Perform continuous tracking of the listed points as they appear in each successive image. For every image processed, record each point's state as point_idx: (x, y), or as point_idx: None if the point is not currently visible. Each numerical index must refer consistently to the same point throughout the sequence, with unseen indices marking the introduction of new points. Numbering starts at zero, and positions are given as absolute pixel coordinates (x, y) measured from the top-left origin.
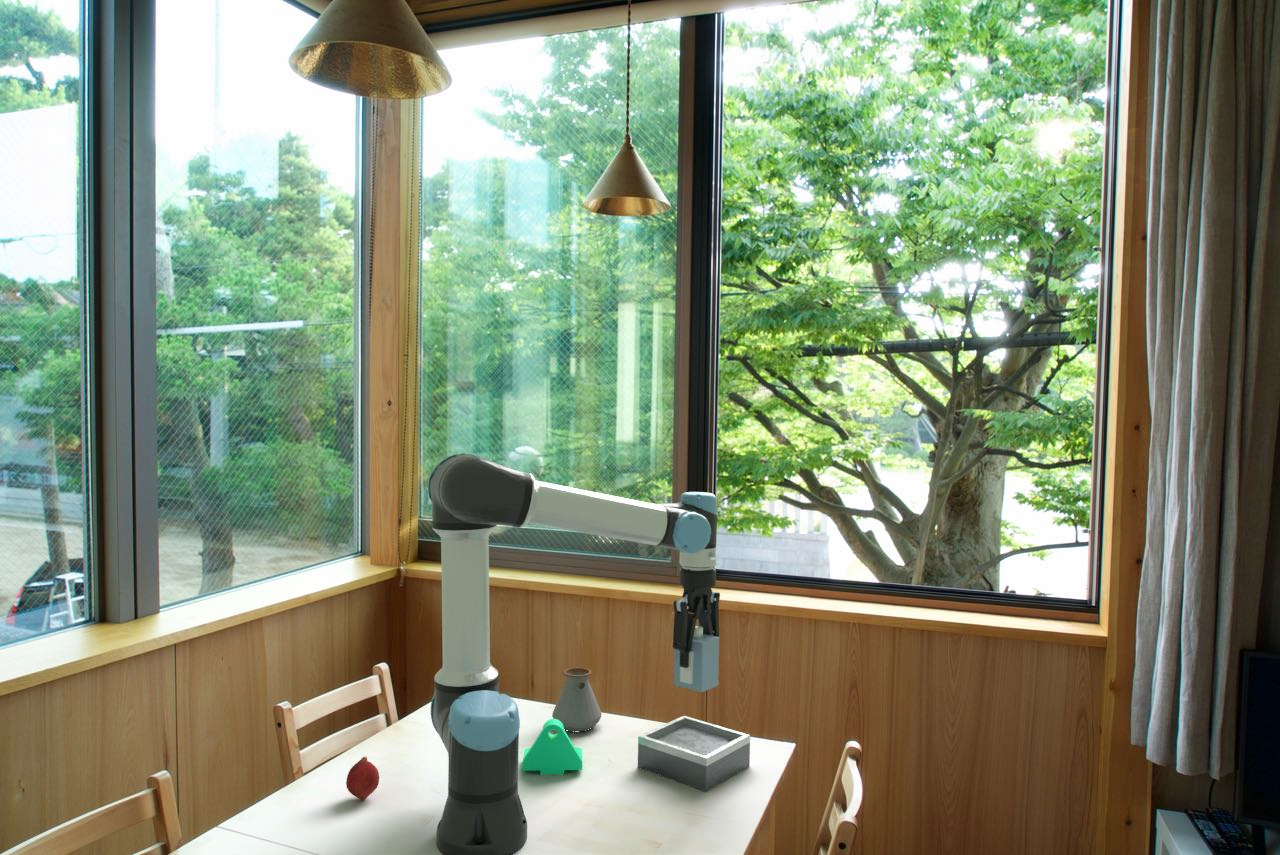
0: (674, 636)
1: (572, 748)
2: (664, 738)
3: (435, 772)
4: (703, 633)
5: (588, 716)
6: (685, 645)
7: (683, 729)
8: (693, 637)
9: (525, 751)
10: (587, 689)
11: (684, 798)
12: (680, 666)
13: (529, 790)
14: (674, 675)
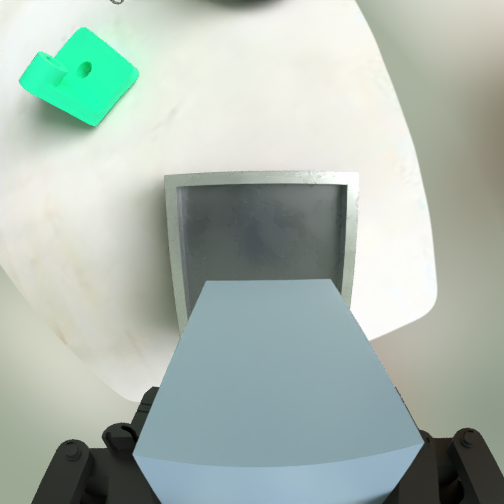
0: (41, 496)
1: (66, 111)
2: (235, 200)
3: (19, 24)
4: (390, 499)
5: None
6: (107, 500)
7: (314, 199)
8: None
9: (72, 37)
10: (121, 1)
11: (154, 309)
12: (152, 388)
13: (30, 126)
14: (199, 299)
